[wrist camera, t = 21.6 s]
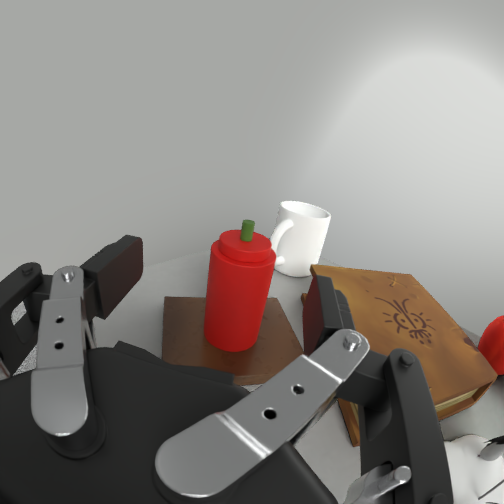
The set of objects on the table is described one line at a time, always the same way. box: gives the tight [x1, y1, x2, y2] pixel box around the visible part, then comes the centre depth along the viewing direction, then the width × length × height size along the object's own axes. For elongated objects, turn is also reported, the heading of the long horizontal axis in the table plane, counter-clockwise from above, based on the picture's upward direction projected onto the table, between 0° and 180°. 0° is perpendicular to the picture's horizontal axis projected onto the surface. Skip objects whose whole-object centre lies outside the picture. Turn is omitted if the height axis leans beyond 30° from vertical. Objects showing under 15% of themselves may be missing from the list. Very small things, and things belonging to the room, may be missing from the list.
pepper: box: [204, 220, 276, 352], centre depth 25 cm, size 6×6×12 cm
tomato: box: [478, 316, 504, 375], centre depth 25 cm, size 9×9×8 cm
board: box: [162, 297, 304, 385], centre depth 28 cm, size 14×12×2 cm
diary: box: [301, 264, 498, 447], centre depth 28 cm, size 23×19×6 cm
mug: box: [270, 201, 331, 277], centre depth 43 cm, size 12×8×10 cm
